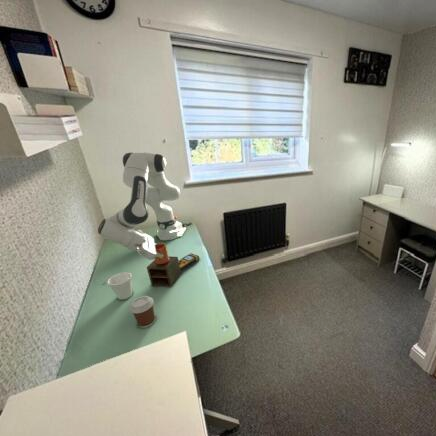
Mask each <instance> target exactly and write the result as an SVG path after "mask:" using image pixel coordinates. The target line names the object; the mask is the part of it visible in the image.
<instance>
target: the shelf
mask: <svg viewBox="0 0 436 436" xmlns="http://www.w3.org/2000/svg"><path fill="white" fill-rule="evenodd" d="M168 257H169V261H168V262H166V263H164V264H156V262H155V259H153V260H152V261H151V262H150V264H148V265H147V266H146V271H147V273H148V277H149V281H150V284H151V286H152V287H169V288H172V287H173V285H174V284H175V283H176V282H177V281H178V279H179V278H180V276H181V275H182V271H180V266H179V261H178V260H179V258H178V256H169V255H168Z"/></svg>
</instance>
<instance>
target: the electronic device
mask: <svg viewBox="0 0 436 436" xmlns="http://www.w3.org/2000/svg"><path fill="white" fill-rule="evenodd" d="M178 261H179V266H180V271H181V272H183V271H184V270H186V269H187V268H189V267H191V266H192V265H193V264H195V263H196V262H198V261H200V256H199V255H198V254H194V253H191V252H190V253H189V254H187V255H185V256H184V257H182V258H180V259H178Z"/></svg>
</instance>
